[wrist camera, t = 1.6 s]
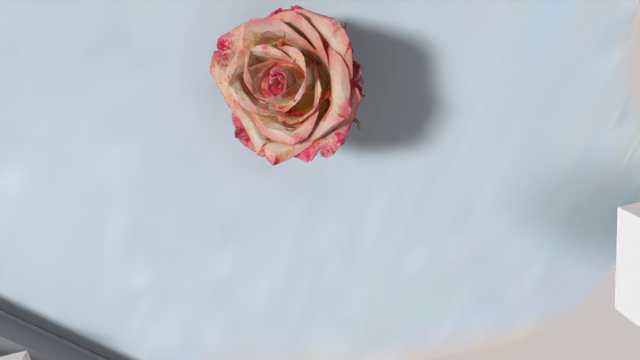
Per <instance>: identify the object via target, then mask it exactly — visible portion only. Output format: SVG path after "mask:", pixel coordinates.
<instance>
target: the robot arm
mask: <svg viewBox="0 0 640 360" xmlns="http://www.w3.org/2000/svg"><path fill="white" fill-rule="evenodd" d="M615 309H616V310H618V311H619V312H620V313H622V314H623V315H625V316H626V317H627V318H628V319H630V320H631V321H632V322H634V323H635V324H636V325H638V326H639V327H640V202H636V203H632V204H628V205H623V206H619V207H618V217H617V251H616V286H615ZM0 360H31V359H30V356H29V354H28V352H27V350H26V351H22V352H18V353H14V354H10V355H6V356H1V357H0Z"/></svg>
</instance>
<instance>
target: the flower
mask: <svg viewBox="0 0 640 360" xmlns="http://www.w3.org/2000/svg"><path fill="white" fill-rule="evenodd" d="M348 21H349V20H348ZM348 21H347V22H346V24H345V25H344V28H343V27H342V26H341V25H340V24H339V23H336V20H335V19H333V18H330V17H327V16H324V15H321V14H318V13H315V12H312V11H309V10H306V9H303V8H302V7H300V6H297V5H296V6H294V7H292V6H291V8H290V9H287V10H282V9H281V8H279V9H278V10H276V11H275V12H272V13H271V14H270V15H269V16H268V17H266V18H255V19H250V20H249V21H247V22H245V23H244V24H242V25H240V26H238V27H237V28H235V29H234V30H232V31H231V32H229V33H227V34H225V35H223V36H221V37H220V38H219V39H218V42H217V49H218V50H219V51H214V53H213V56H212V60H211V66H210V72H211V74H212V76H213V78H214V80H215V82H216V83H217V85H218V87H219V89H220V91H221V93H222V94H223V96H224V98H225V100H226V102H227V103H228V105H229V107H230V108H231V110H232V112H233V115H232V124H234V125H235V128H236V130H235V138H238V139H239V141H240V142H241V143H242V144H243V145H245V146H246V147H248V148H249V149H251V150H252V151H254V152H256V155H260V156H261V157H263V156H265V157H266V159H267V160H268V161H269V162H270V163H271V164H272V165H277V164H279V163H281V162H283V161H285V160H288V159H290V158H292V157H296V158H298V159H301V160H303V161H305V162H309V161H312V160H313V158H314V157H315V156H316V155H317V152H318V150H319V149H320V152H321V155H322V157H325V158H328V157H330V156H332V155H334V153H335V152H336V150H337V147H336V146H335V145H337V146H338V147H339V146H341V145H343V144H344V142H345V139H346V135H347V132H348V131H349V128H350V126H351V124H352V122H353V121H354V122H356V123H357V124H358V127H359V129H360V123H359V121H358V120H357V119H356V118H355V115H356V112H357V109H358V107H359V104H360V101H361V97H360V96H362V97H364V96H365V95H363V94H362V85H363V82H364V81H363V80H362V79H361V75H362V74H363V71H362V67H361V66H360V65H359V64H358V63H357V62H356V61H353V55H352V54H353V49H352V47H351V43H350V41H349V38H348V36H347V34H346V31H345V30H346V26H347V23H348ZM218 81H219V82H218ZM334 144H335V145H334ZM329 152H330V153H329Z"/></svg>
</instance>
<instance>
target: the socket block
mask: <svg viewBox="0 0 640 360" xmlns="http://www.w3.org/2000/svg"><path fill="white" fill-rule="evenodd" d="M26 350H27V352H28V354H29V356H30V359H31V360H108V359H106V358H104V357H101V356H99V355H97V354H95V353H93V352H91V351H88V350H86V349H84V348H82V347H80V346H78V345H75V344H73V343H71V342H69V341H67V340H65V339H63V338H60V337H58V336H56V335H54V334H52V333H50V332H47V331H45V330H43V329H41V328H39V327H37V326H34V325H32V324H30V323H28V322H26V321H24V320H21V319H19V318H17V317H15V316H13V315H11V314H9V313H6V312H4V311H2V310H0V357H1V356H6V355H10V354H14V353H18V352H22V351H26Z"/></svg>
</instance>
